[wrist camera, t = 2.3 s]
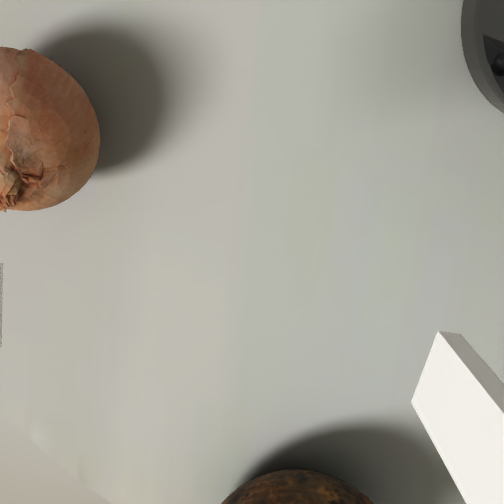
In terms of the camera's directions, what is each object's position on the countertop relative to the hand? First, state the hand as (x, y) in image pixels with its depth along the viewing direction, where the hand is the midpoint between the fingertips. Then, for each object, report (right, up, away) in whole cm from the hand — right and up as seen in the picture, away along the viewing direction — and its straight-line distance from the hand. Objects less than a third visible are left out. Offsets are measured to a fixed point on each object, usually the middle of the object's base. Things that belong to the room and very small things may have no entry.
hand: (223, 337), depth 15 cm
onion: (-13, +11, +19) cm, 26 cm away
